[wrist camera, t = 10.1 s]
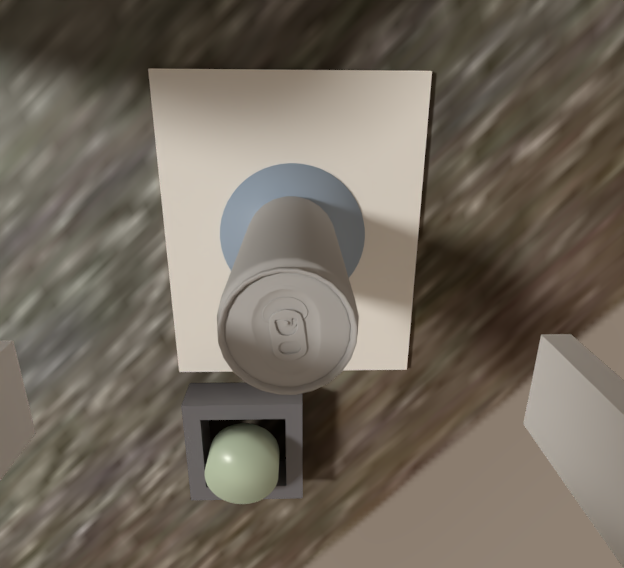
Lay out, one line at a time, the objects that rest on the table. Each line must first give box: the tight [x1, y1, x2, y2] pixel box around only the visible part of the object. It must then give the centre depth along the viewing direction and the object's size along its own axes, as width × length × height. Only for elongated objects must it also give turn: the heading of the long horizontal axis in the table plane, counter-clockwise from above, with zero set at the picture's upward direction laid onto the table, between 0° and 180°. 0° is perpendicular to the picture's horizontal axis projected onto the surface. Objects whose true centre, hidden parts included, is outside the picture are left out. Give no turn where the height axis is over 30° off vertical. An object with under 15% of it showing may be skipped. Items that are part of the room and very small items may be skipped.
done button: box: [205, 423, 280, 504], centre depth 29 cm, size 4×4×2 cm
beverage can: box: [217, 196, 359, 395], centre depth 21 cm, size 5×5×12 cm
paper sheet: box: [148, 69, 432, 372], centre depth 27 cm, size 17×14×1 cm
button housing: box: [181, 383, 303, 500], centre depth 31 cm, size 7×7×2 cm
